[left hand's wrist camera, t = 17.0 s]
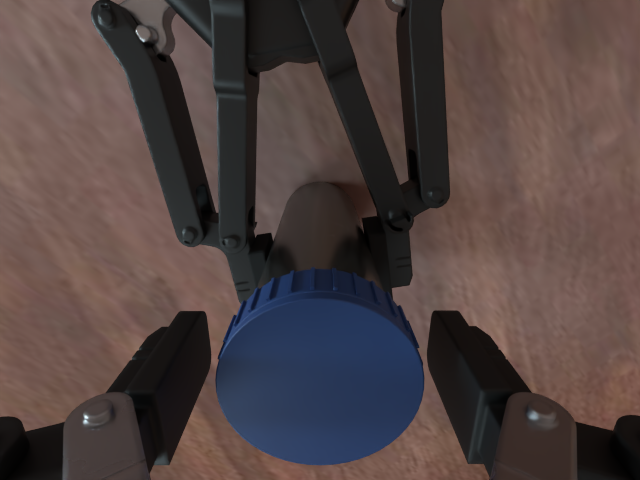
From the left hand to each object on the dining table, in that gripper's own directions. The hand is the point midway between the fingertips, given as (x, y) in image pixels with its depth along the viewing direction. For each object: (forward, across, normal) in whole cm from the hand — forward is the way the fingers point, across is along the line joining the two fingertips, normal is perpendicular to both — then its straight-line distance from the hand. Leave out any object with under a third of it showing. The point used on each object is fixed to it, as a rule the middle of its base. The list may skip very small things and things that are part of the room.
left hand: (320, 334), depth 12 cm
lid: (-2, 0, 0) cm, 2 cm away
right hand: (+6, +1, -5) cm, 8 cm away
